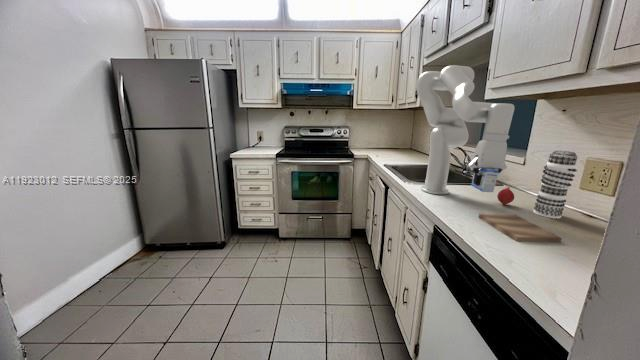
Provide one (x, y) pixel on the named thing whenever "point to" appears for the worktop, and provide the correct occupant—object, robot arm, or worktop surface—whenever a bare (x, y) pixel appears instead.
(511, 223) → the cutting board
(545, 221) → the worktop surface
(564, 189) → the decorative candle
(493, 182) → the medicine box
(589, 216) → the worktop surface
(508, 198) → the red oval piece
